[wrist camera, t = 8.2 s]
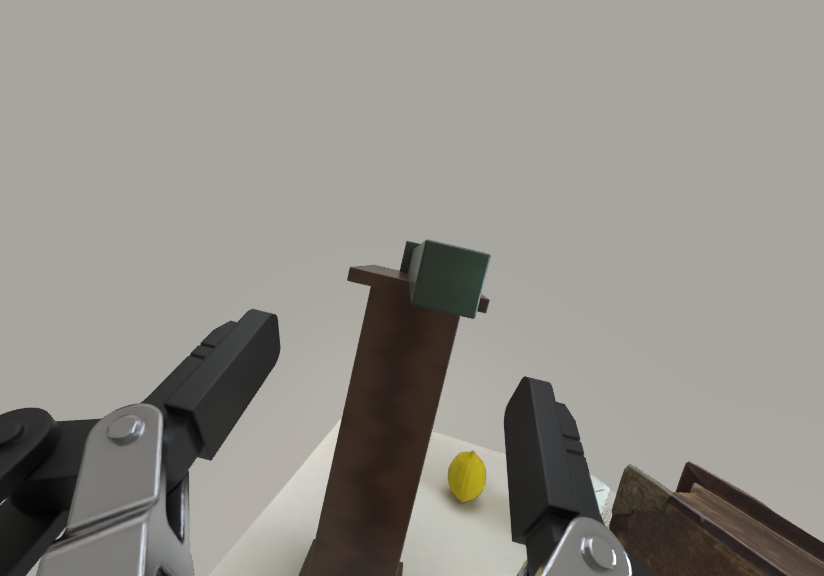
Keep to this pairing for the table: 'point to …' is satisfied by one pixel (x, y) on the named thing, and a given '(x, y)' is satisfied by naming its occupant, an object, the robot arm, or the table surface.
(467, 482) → the fruit
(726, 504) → the book
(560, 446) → the robot arm
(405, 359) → the pedestal
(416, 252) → the rod
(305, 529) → the table surface
